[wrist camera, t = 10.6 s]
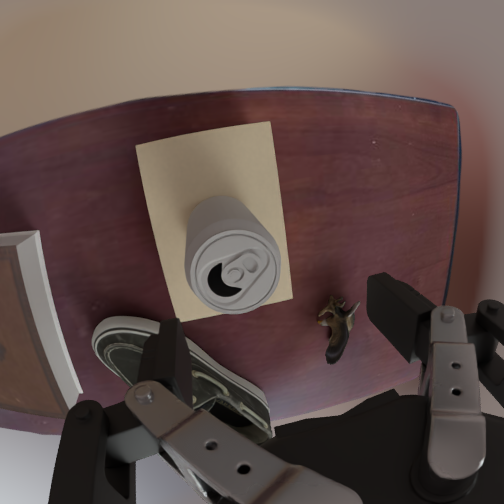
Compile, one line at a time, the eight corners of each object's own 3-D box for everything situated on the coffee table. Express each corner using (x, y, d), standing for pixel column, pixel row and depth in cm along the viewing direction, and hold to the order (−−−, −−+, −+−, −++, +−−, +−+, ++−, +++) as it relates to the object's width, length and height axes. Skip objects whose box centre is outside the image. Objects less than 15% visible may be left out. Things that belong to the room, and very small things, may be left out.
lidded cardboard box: (147, 145, 34) (134, 145, 26) (255, 125, 35) (270, 120, 28) (179, 291, 40) (177, 323, 33) (275, 271, 42) (293, 298, 34)
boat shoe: (116, 291, 39) (99, 330, 30) (285, 385, 49) (302, 427, 40) (85, 343, 40) (67, 386, 31) (245, 422, 51) (254, 464, 42)
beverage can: (174, 220, 29) (161, 265, 18) (229, 180, 29) (250, 202, 18) (212, 270, 32) (223, 336, 21) (265, 233, 31) (304, 283, 20)
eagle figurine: (296, 312, 43) (313, 363, 45) (336, 316, 38) (351, 371, 39) (327, 287, 48) (341, 336, 49) (366, 287, 42) (378, 340, 44)
